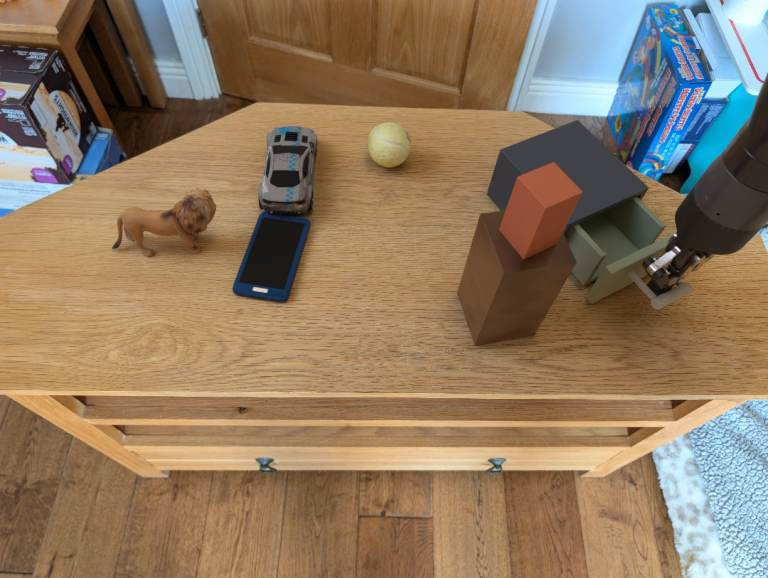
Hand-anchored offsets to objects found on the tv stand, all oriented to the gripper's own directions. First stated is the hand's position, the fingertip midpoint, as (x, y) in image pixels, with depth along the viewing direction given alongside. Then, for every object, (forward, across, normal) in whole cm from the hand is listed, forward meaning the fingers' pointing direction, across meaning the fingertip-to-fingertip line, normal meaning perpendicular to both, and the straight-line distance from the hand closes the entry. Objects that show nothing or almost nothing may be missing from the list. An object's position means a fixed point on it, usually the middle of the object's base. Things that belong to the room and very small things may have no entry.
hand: (654, 291), depth 70 cm
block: (-12, -18, +8) cm, 23 cm away
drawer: (+3, 0, +7) cm, 8 cm away
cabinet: (+4, 0, +19) cm, 19 cm away
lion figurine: (+4, -50, +38) cm, 63 cm away
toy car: (+4, -32, +42) cm, 53 cm away
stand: (+4, -18, +8) cm, 20 cm away
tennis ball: (+4, -17, +38) cm, 42 cm away
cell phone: (+4, -40, +30) cm, 50 cm away
